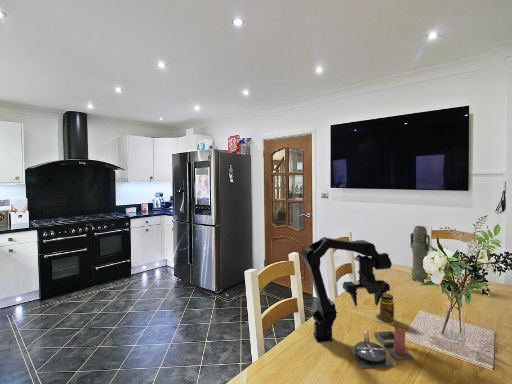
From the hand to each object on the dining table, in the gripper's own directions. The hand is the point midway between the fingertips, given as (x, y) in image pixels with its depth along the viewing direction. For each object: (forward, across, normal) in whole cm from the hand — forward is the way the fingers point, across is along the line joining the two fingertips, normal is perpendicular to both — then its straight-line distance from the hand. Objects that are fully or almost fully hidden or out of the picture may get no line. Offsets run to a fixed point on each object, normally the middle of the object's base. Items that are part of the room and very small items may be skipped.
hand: (366, 305), depth 122 cm
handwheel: (+10, -6, -16) cm, 20 cm away
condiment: (+12, +14, +10) cm, 21 cm away
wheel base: (+12, -6, -16) cm, 21 cm away
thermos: (+12, +63, +56) cm, 85 cm away
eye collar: (+12, +6, -8) cm, 15 cm away
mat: (+12, +6, -16) cm, 20 cm away
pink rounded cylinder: (+12, +6, -16) cm, 20 cm away
